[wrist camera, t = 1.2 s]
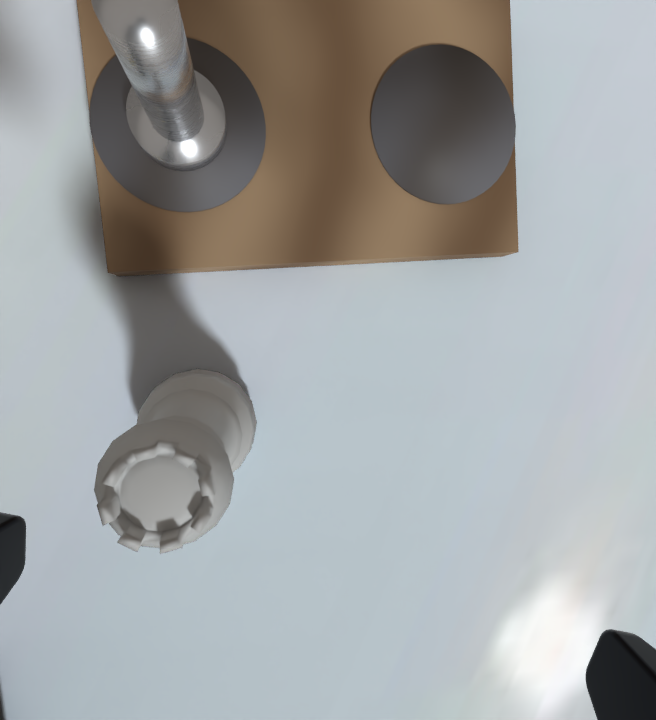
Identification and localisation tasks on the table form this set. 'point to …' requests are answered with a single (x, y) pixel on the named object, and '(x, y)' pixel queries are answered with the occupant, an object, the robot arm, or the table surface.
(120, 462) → the rook chess piece
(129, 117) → the point post
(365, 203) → the board
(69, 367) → the table surface
